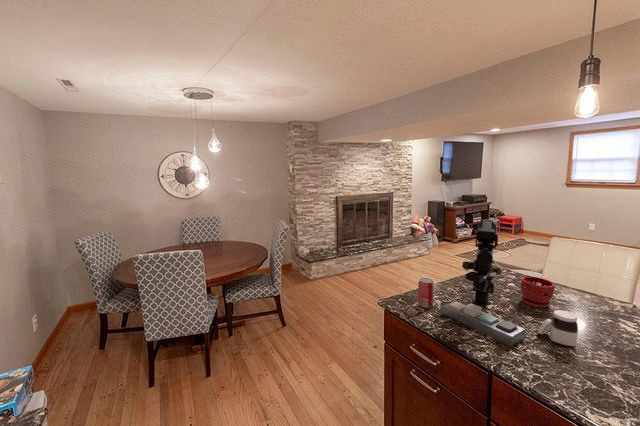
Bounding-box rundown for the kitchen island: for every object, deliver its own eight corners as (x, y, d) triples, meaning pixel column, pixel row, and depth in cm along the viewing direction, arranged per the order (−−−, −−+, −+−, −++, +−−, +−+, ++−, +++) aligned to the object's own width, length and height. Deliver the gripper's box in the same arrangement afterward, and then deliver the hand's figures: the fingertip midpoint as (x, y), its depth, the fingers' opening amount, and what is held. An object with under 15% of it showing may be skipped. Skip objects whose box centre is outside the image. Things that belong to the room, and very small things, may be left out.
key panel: (455, 308, 141) (455, 300, 141) (524, 338, 116) (525, 329, 116) (441, 314, 136) (442, 306, 136) (511, 346, 111) (512, 336, 110)
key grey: (470, 312, 132) (470, 303, 132) (481, 317, 128) (481, 307, 127) (463, 315, 130) (464, 306, 129) (474, 320, 125) (475, 310, 125)
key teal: (485, 323, 127) (486, 313, 126) (497, 328, 122) (498, 318, 122) (478, 326, 124) (479, 316, 123) (490, 331, 120) (491, 321, 119)
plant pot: (523, 307, 142) (525, 283, 141) (516, 296, 154) (518, 274, 153) (556, 312, 137) (559, 287, 136) (547, 300, 150) (549, 277, 148)
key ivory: (455, 310, 138) (456, 301, 138) (465, 314, 134) (466, 305, 134) (449, 313, 136) (449, 304, 135) (459, 317, 132) (459, 308, 131)
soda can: (434, 309, 141) (435, 283, 139) (418, 308, 143) (419, 282, 141) (431, 303, 148) (432, 278, 146) (416, 301, 149) (417, 277, 148)
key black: (502, 330, 121) (503, 320, 120) (515, 336, 116) (516, 326, 116) (495, 334, 118) (496, 324, 117) (509, 340, 114) (510, 329, 113)
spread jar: (578, 352, 107) (581, 322, 105) (539, 343, 113) (542, 314, 111) (571, 337, 117) (575, 309, 115) (536, 329, 123) (539, 302, 121)
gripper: (478, 250, 141) (476, 281, 143) (454, 257, 131) (453, 290, 133) (502, 255, 131) (500, 289, 134) (479, 264, 122) (477, 299, 124)
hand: (482, 291), depth 132 cm, fingers closed
